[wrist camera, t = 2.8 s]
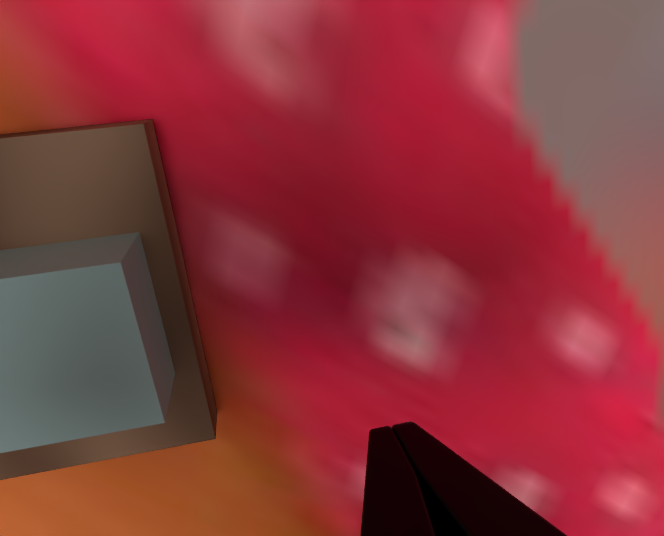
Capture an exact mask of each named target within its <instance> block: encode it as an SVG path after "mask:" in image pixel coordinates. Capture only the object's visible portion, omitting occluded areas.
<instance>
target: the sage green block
mask: <svg viewBox="0 0 664 536" xmlns="http://www.w3.org/2000/svg"><path fill="white" fill-rule="evenodd" d="M174 377H175V370H174V366H173V362H172V359H171V355H170V351H169V347H168V343H167V339H166V335H165V331H164V327H163V323H162V319H161V315H160V311H159V307H158V303H157V299H156V295H155V291H154V287H153V284H152V280H151V276H150V272H149V268H148V264H147V260H146V256H145V252H144V248H143V244H142V240H141V236H140V232H136V233H128V234H121V235H113V236H105V237H98V238H90V239H83V240H75V241H68V242H60V243H52V244H45V245H37V246H30V247H22V248H15V249H7V250H0V453H4V452H10V451H15V450H21V449H26V448H31V447H37V446H42V445H48V444H53V443H59V442H64V441H69V440H75V439H80V438H86V437H91V436H96V435H102V434H107V433H113V432H118V431H124V430H129V429H134V428H140V427H145V426H151V425H156V424H162V423H165V420H166V415H167V411H168V406H169V401H170V396H171V391H172V387H173V382H174Z"/></svg>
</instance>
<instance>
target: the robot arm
mask: <svg viewBox="0 0 664 536" xmlns="http://www.w3.org/2000/svg"><path fill="white" fill-rule="evenodd" d="M361 536H567V535H565V534H564V533H563V532H561V531H560V530H559V529H557V528H556V527H555V526H553V525H552V524H551V523H549V522H548V521H547V520H545V519H544V518H542V517H541V516H540V515H538V514H537V513H536V512H534V511H533V510H532V509H530V508H529V507H528V506H526V505H525V504H524V503H522V502H521V501H520V500H518V499H517V498H515V497H514V496H513V495H511V494H510V493H509V492H507V491H506V490H505V489H503V488H502V487H501V486H499V485H498V484H497V483H495V482H494V481H493V480H491V479H490V478H488V477H487V476H486V475H484V474H483V473H482V472H480V471H479V470H478V469H476V468H475V467H474V466H472V465H471V464H470V463H468V462H467V461H466V460H464V459H463V458H461V457H460V456H459V455H457V454H456V453H455V452H453V451H452V450H451V449H449V448H448V447H447V446H445V445H444V444H443V443H441V442H440V441H439V440H437V439H436V438H434V437H433V436H432V435H430V434H429V433H428V432H426V431H425V430H424V429H422V428H421V427H420V426H418V425H417V424H416V423H414V422H405V423H400V424H395V425H393V426H392V428H391V427H389V426H384V427H379V428H374V429H371V430H370V432H369V442H368V454H367V465H366V477H365V489H364V501H363V513H362V525H361Z"/></svg>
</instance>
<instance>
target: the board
mask: <svg viewBox="0 0 664 536" xmlns="http://www.w3.org/2000/svg"><path fill="white" fill-rule="evenodd" d="M136 232H140V236H141V240H142V244H143V248H144V252H145V256H146V260H147V264H148V268H149V272H150V276H151V280H152V284H153V287H154V291H155V295H156V299H157V303H158V307H159V311H160V315H161V319H162V323H163V327H164V331H165V335H166V339H167V343H168V347H169V351H170V355H171V359H172V362H173V366H174V370H175V377H174V382H173V387H172V391H171V396H170V401H169V406H168V411H167V415H166V420H165V423H162V424H156V425H151V426H145V427H140V428H134V429H129V430H124V431H118V432H113V433H107V434H102V435H96V436H91V437H86V438H80V439H75V440H69V441H64V442H59V443H53V444H48V445H42V446H37V447H31V448H26V449H21V450H15V451H10V452H4V453H0V480H3V479H8V478H13V477H18V476H23V475H29V474H34V473H39V472H44V471H50V470H55V469H60V468H65V467H70V466H76V465H81V464H86V463H91V462H97V461H102V460H107V459H112V458H117V457H123V456H128V455H133V454H138V453H144V452H149V451H154V450H159V449H164V448H170V447H175V446H180V445H185V444H191V443H196V442H201V441H206V440H212V439H215V438H216V422H217V409H216V405H215V400H214V396H213V391H212V387H211V382H210V378H209V373H208V369H207V364H206V360H205V355H204V351H203V346H202V342H201V337H200V332H199V328H198V323H197V319H196V314H195V310H194V305H193V301H192V296H191V292H190V287H189V283H188V278H187V274H186V269H185V265H184V260H183V256H182V251H181V247H180V242H179V237H178V233H177V228H176V224H175V219H174V215H173V210H172V206H171V201H170V197H169V192H168V188H167V183H166V179H165V174H164V170H163V165H162V161H161V156H160V152H159V147H158V142H157V138H156V133H155V129H154V124H153V120H152V119H148V120H139V121H129V122H119V123H109V124H100V125H90V126H80V127H70V128H60V129H51V130H41V131H31V132H21V133H11V134H2V135H0V250H7V249H15V248H22V247H30V246H37V245H45V244H52V243H60V242H68V241H75V240H83V239H90V238H98V237H105V236H113V235H121V234H128V233H136Z"/></svg>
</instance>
